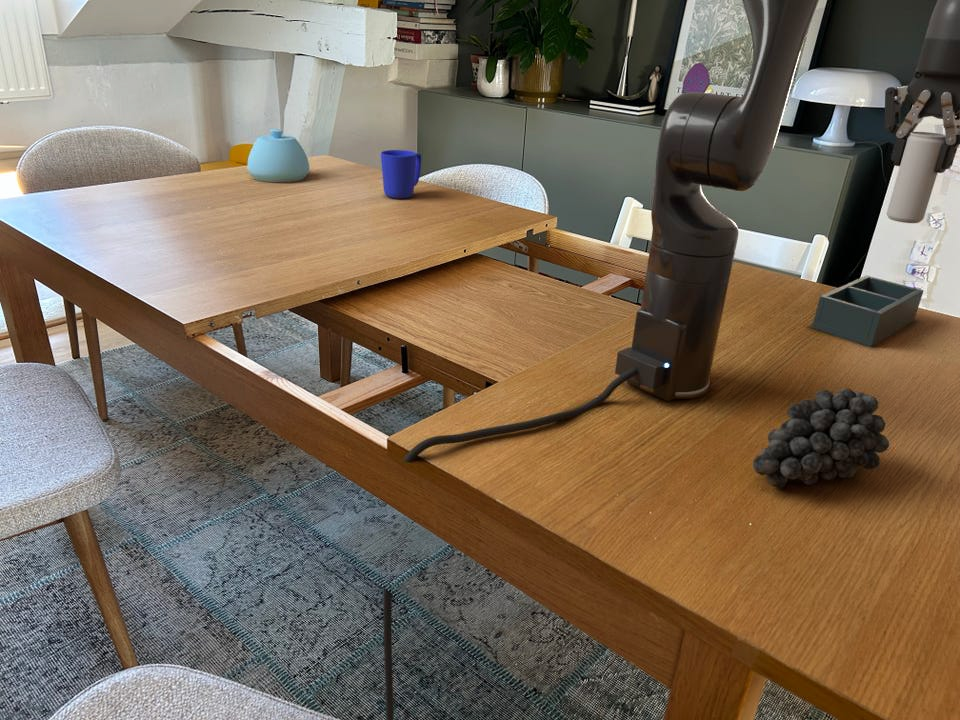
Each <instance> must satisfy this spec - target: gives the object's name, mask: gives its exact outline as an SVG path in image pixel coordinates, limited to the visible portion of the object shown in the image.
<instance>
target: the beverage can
mask: <svg viewBox="0 0 960 720" xmlns="http://www.w3.org/2000/svg"><path fill="white" fill-rule="evenodd" d="M910 134H911V135H910V136H909V137H908V139H907V142H906V146H905V150H904V153H903V157H902V160H901V164H900V166H898V171H897V174H896V178H895V181H894V185H893V188H892V192H891V195H890V199H889V203H888V206H887V209H886V215H887V219H890V220H891V221H894V222H897V223H903V224H904V223H905V224H919V223H920V222H922V221H923V220H924V219H925V218H924V217H925V215H926V212H927V208H928V206H929V203H930V200H931V195H932V192H933V189H934V185H935V183H936V179H937V176H938V173H936V172H935V168H936V165H937V162H938V159H939V155H940V152H941V149H942V146H943V145H945V144H946V137H945V134H943V133H937V132H929V131H913V132H911V133H910Z"/></svg>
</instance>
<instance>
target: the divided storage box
mask: <svg viewBox="0 0 960 720" xmlns="http://www.w3.org/2000/svg"><path fill="white" fill-rule="evenodd" d="M923 294H924V290H923V289H920V288H915V287H913V286H908V285H904V284H901V283H897V282H893V281H889V280H885V279H881V278H878V277H874V276H871V275H867V274H866V275H864V276H862V277H859V278H857V279H855V280H852V281H850V282H848V283H846V284H844V285H841V286H839V287H837V288H835V289H833V290H831V291H828V292H826V293H824V294H822V295H820V296H819V299H818V302H817V307H816V310H815V314H814V317H813V322H812V326H811V329H814V330H818V331H821V332H823V333H826V334H830V335H832V336H836V337H839V338H842V339H845V340H848V341H850V342H851V341H852V342H854V343H857V344H861V345H864V346H867V347H869V348H872V347H874V346H875V345H877V344H879V343H880V342H882V341H883V340H885V339H887V338H888V337H890V336H892V335H893V334H895V333H896V332H898V331H900V330H901V329H903V328H905V327H906V326H908V325H910V324H911V323H913V322H914V321H915V320H916V316H917V313H918V310H919V306H920V304H921V300H922V297H923Z"/></svg>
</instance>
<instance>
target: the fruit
mask: <svg viewBox="0 0 960 720" xmlns="http://www.w3.org/2000/svg"><path fill="white" fill-rule="evenodd" d="M878 409H879V400H878V399H877V398H876V397H875V396H873V395H871V394H868V393H867V394H866V393H865V392H863V391H853V389H852V388H849V387H848V388H841V389H839V390H838V391H837V392H836V393H835V394H833V392H831V391H830V390H828V389H820V390H819V391H817V392H816V393H815V395H814V398H813V400H811V399H809V398H808V399H807V398H806V399H803V400H801V401H800V402H795V403H792V404H790V405H789V406H788V408H787V411H786V415H787V417H788V418H789V419H788V420H786V421H784V422H782V423H781V425H780V427H779V428H773V429H772V430H770V432H769V433H768V435H767V441H768V445H767V446H766V447H765V448H763V449H762V450H761V451H760V453H759V455H757V456H756V457H755V458H754V459H753V461H752V469H753V470H754V472H755V473H757V474H758V475H760V476H766V481H767V483H769V484H770V485H771V486H773V487H776V488H782V487H784V486H786V485H787V483H788V480H789V479H790V480H796V479H797V480H799V481H801V482H802V483H803V484H804V485H806V486H813V485H815V484H816V483H817V482H818V481H819V476H820V477H821V479H822V480H826V481H831V480H834V479H836V477H837V476H838V477H839V478H841V479H851V478H853V477H854V476H855V474H856V473H857V469H858V468H859V469H860V468H862V469H865V470H869V471H872V470H873V471H874V470H875V469H877V468H878V467H879V465H880V464H881V461H880V460H881V458H880V456H879V454H880V453H881V454H882V453H884V452H886V451H887V450H888V448H890V441H889V439H888V438H887V436H886V435H885V434H882V433H883V431H885V428H886V421H885V420H884V418H883V417H882V416H880V415H878V414H873V413H875V412H876V411H877V410H878ZM878 453H879V454H878Z"/></svg>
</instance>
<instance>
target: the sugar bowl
mask: <svg viewBox="0 0 960 720" xmlns="http://www.w3.org/2000/svg"><path fill="white" fill-rule="evenodd" d="M283 132H284V130H283V129H279V128H273V129H269V133H270V134H266V135H261V136H258V137H257V138H256V140H255V142H254V144H253V146H251V147H252V148H251V149H250V152H249V155H248V158H247V165H246V166H247V171H248V173H249V174H250V175H251V176H252V177H253V178H254V179H255V180H257V181H261V182H265V183H292V182H299V181H301V180H304V179H305V178H306V177H307V175H308V174H309V172H310V169H311V168H310V163H309V159H308V156H307V153H306V152H305V150H304V148H303V146H302V145H301V144H300V142H299V141H298V139H297V138H296V137H295V136H291V135H285V134H283Z"/></svg>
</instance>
